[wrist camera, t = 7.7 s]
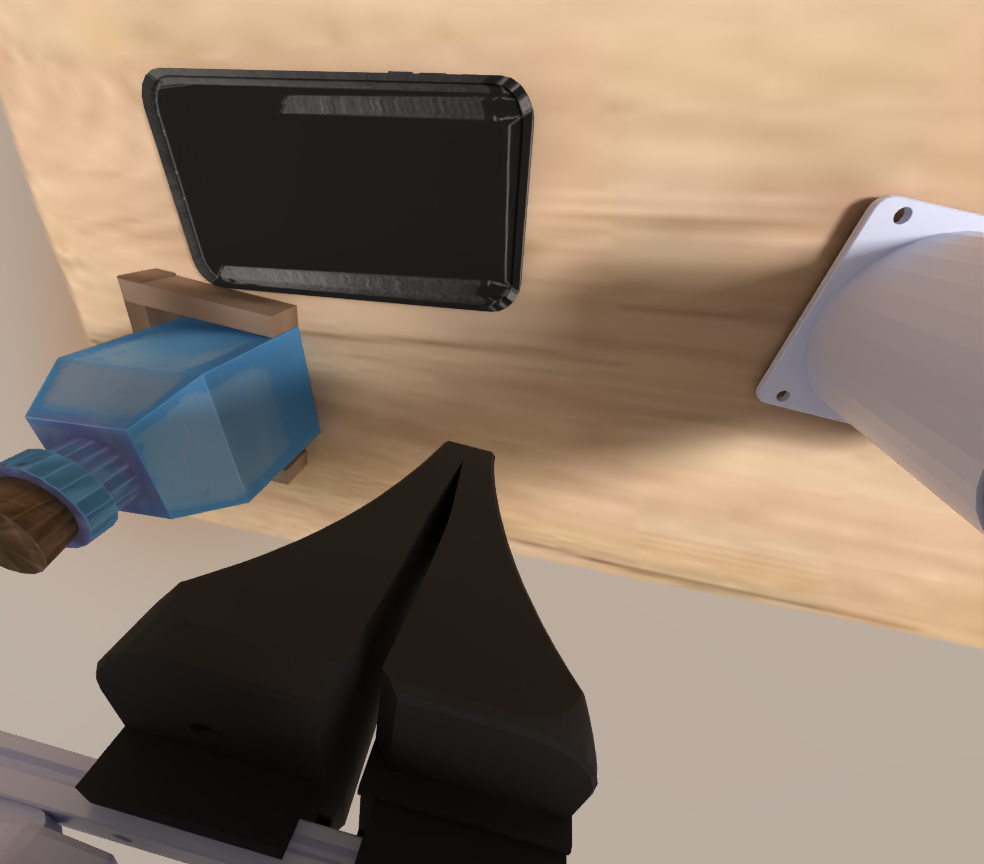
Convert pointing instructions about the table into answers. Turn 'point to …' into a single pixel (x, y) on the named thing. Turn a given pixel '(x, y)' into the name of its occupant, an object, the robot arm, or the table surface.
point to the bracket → (206, 315)
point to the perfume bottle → (153, 433)
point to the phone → (349, 181)
